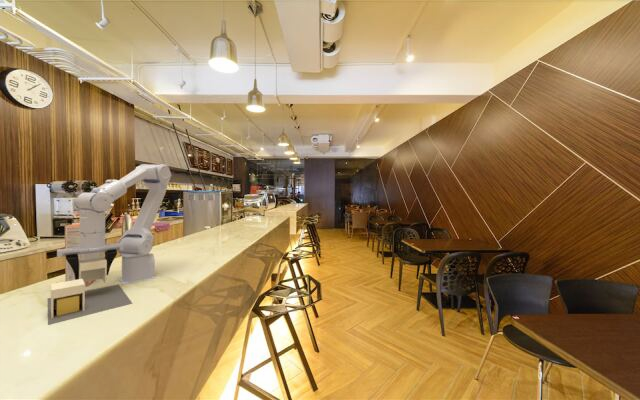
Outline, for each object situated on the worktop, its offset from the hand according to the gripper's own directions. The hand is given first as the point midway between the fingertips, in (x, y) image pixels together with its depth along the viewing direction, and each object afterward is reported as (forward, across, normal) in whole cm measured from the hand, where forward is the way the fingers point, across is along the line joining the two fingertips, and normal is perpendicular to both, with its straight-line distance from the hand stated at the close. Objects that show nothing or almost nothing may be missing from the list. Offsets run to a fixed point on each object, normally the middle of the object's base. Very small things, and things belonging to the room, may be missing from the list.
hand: (92, 276), depth 74 cm
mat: (+6, -1, -5) cm, 8 cm away
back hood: (+2, 0, 0) cm, 2 cm away
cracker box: (+6, 0, +17) cm, 18 cm away
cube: (+6, -6, -9) cm, 12 cm away
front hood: (+6, -6, -9) cm, 12 cm away
